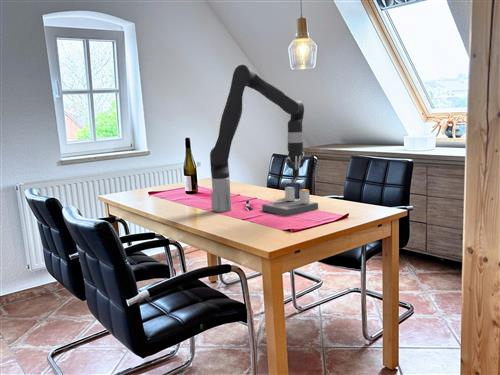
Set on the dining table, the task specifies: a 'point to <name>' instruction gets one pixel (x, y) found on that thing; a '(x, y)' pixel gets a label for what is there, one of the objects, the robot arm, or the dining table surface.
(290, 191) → the block
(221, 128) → the robot arm
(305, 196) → the block
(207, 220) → the dining table surface
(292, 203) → the dual slider panel
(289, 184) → the flask
